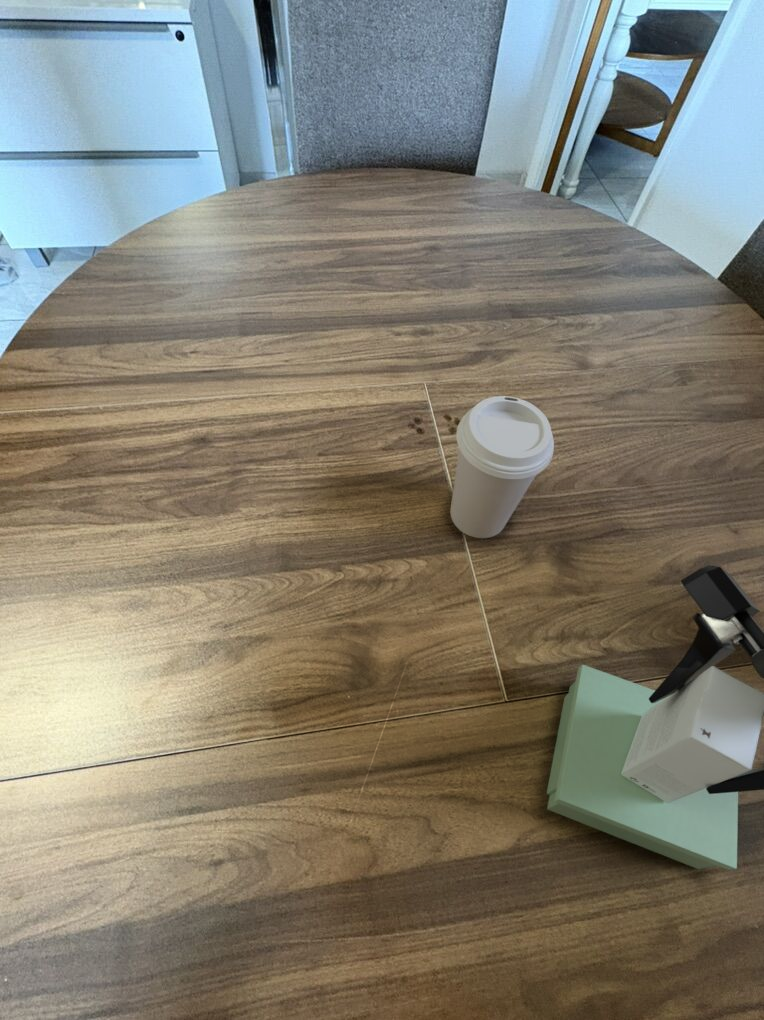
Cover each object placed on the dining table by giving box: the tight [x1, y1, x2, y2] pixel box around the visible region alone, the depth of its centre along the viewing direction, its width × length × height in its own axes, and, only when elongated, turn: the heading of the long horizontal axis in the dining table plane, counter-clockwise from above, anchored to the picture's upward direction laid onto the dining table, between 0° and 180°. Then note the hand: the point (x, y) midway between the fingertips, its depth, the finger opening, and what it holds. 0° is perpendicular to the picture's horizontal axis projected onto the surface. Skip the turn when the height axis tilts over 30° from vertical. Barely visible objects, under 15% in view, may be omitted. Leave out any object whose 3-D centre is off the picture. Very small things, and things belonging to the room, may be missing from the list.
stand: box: [546, 664, 739, 871], centre depth 53 cm, size 14×12×5 cm
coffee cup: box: [449, 395, 555, 539], centre depth 64 cm, size 10×10×15 cm
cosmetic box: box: [621, 665, 764, 803], centre depth 46 cm, size 6×4×12 cm
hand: (678, 743), depth 46 cm, fingers closed on cosmetic box, 6 cm apart
